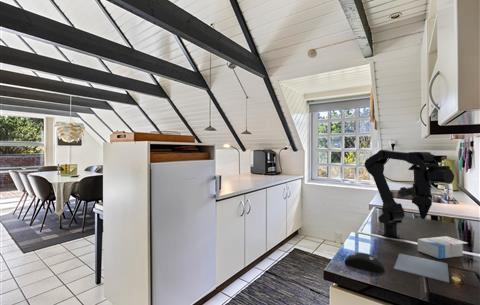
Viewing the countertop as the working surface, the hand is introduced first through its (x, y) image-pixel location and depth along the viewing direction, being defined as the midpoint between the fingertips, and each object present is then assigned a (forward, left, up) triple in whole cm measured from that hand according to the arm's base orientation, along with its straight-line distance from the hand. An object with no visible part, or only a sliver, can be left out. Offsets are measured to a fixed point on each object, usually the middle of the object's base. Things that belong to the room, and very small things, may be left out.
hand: (423, 218), depth 99 cm
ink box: (+9, +1, -10) cm, 13 cm away
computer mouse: (+35, -15, -12) cm, 40 cm away
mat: (+23, 0, -12) cm, 26 cm away
